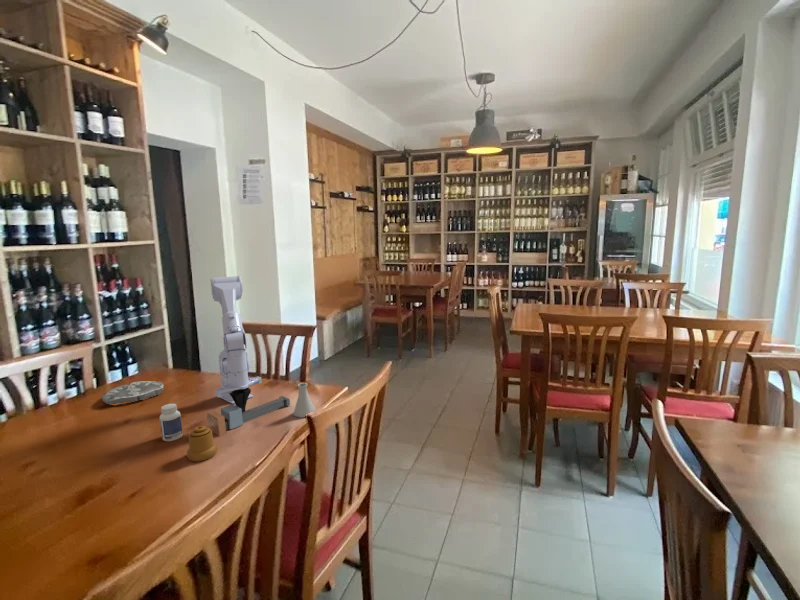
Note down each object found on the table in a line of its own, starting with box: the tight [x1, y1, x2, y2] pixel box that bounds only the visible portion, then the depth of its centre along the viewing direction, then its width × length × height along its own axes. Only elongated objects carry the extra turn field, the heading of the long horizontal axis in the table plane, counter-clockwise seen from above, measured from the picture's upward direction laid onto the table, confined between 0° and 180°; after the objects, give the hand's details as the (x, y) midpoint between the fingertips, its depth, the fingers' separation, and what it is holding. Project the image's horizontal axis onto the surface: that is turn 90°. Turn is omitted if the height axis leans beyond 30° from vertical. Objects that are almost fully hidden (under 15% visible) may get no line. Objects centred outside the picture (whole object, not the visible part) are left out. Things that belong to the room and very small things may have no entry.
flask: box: [293, 382, 316, 418], centre depth 137 cm, size 7×7×10 cm
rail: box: [206, 395, 291, 437], centre depth 135 cm, size 7×26×6 cm, turn 140°
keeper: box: [220, 403, 244, 430], centre depth 130 cm, size 5×4×5 cm
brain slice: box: [100, 380, 165, 406], centre depth 156 cm, size 20×17×3 cm
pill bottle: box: [159, 403, 184, 442], centre depth 123 cm, size 5×5×10 cm
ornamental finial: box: [186, 425, 218, 462], centre depth 113 cm, size 8×8×8 cm
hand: (241, 411), depth 133 cm, fingers closed
